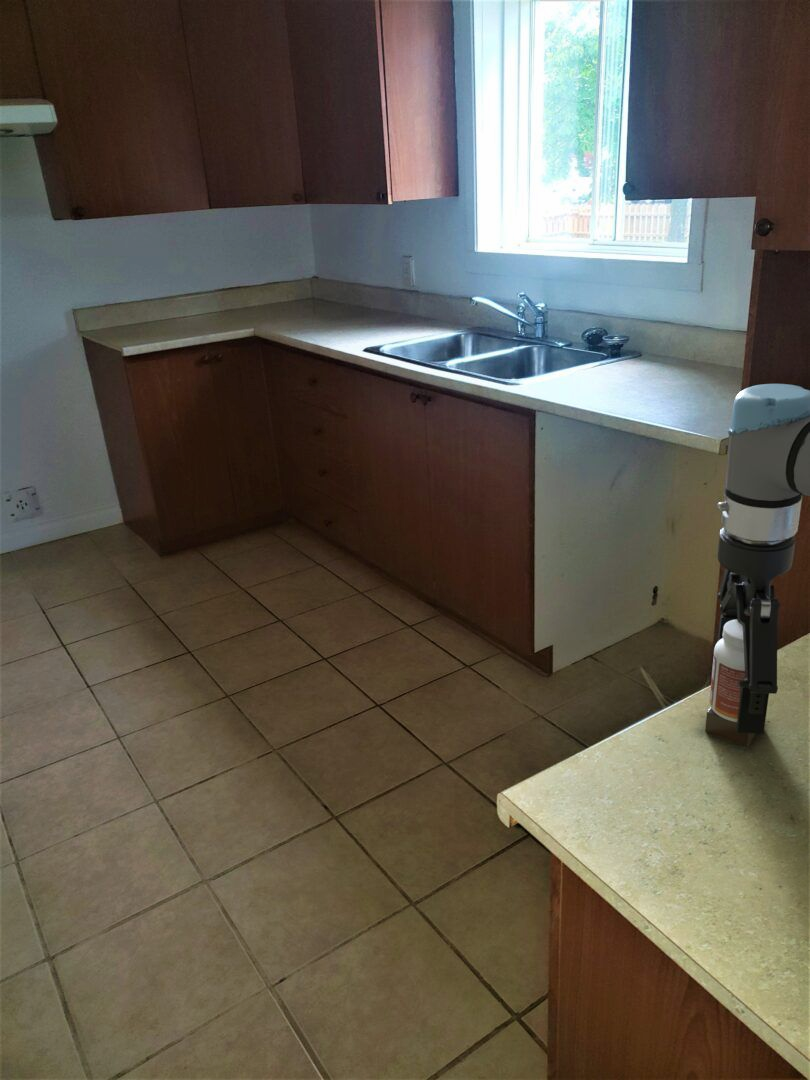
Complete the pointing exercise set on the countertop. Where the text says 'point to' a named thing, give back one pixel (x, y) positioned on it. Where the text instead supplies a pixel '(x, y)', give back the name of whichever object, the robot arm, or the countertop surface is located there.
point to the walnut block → (726, 729)
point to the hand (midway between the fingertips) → (738, 694)
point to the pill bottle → (728, 672)
